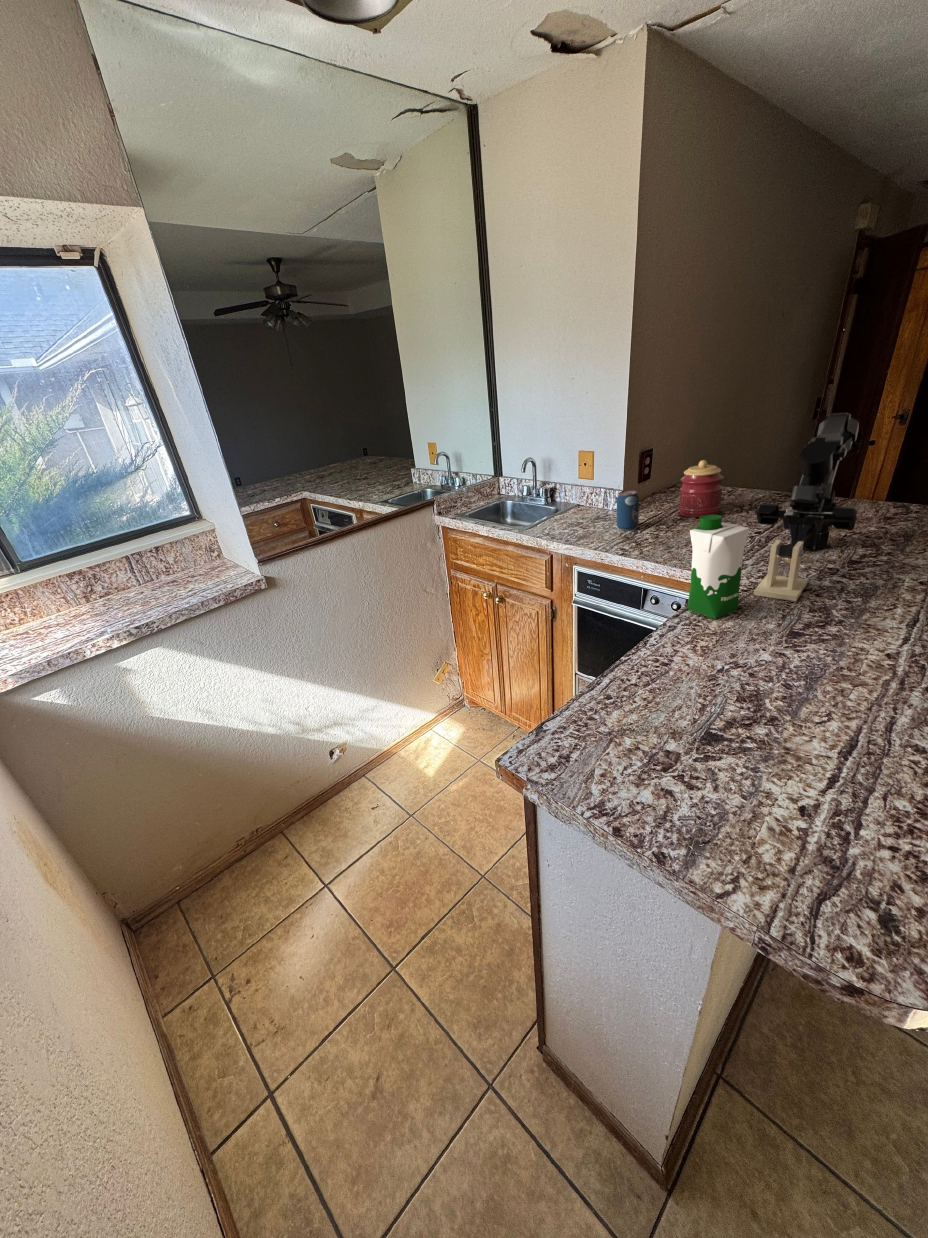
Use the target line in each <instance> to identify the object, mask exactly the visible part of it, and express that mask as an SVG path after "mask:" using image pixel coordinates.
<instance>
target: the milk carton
mask: <svg viewBox="0 0 928 1238" xmlns="http://www.w3.org/2000/svg"><path fill="white" fill-rule="evenodd" d="M749 532H750V527H749V526H742V525H738V524H736V523H729V522H723V516H722V515H719V514H716V515H703V516H701V517H699V523H698V526H697V527H694V528H693V529H690V530H689V535H690V540H691V546H692V547H691V548H692V554H691V555H692V556H691V569H690V571H691V573H690V584H689V585H690V587H689V593H688V600H687V607H686V609H687V610H689V611H692V612H695V613H698V614H701V615H703V616H705V617H709V618H711V619H714V620H717V619H720V618H721V617H724V616H727V615H728V614H730V613H732V612H735V611H736V610H739V602H740V601H739V599H740V586H741V577H742V570H743V561H744V553H745V547H746V543H747V539H748V536H749Z"/></svg>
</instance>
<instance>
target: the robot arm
mask: <svg viewBox="0 0 928 1238" xmlns="http://www.w3.org/2000/svg"><path fill="white" fill-rule="evenodd" d="M851 416H852V415H851V413H848V412H835V413H829V414H826V416H825V419H824V420H823V421H821V422H820V423H819V425H818V429H817V433H816V436H815V437H812V438H811V439H809V441H808V443H807V444H806V445H804V447H803V448H802V449H801V452H800V453H799V461H800V472H801V478H800V481H799V483H798V485H793V486H792V491H791V496H790V503H789V508H785V509H780V507H779V503H761V504H759V505H758V506H757V508H756V511H755V515H756V519H757V523H758V524H759V525H764V526H775V525H776V524H778V522H779V520H780V519H782V522H783V523H782V524H783V528H784V529H786V530H789V534H790V540H791V541H790V543H789V544H788V545H792V546H793V547H794V546H795V545H796V544H797V542H798V541H802V542H804V544H803V549H802V550H804V551H808V552H814V551H818V550H821V549H824V548H827V547H830V545H831V544H830V543H828V541H829V536H830V530H829V528H835V530H845V531H846V530H847V531H852V530H854V529H855V526H856V522H857V517H858V516H857V515H858V509H857V508H856V507H854V506H839V505H838V502H837V501H835V499H836V492H835V491H836V489H835V487H834V486H833V484H834V480H835V477H836V474H837V470H838V468H839V467H838V466H839V464H840V461H842V460H843V459H844V458H845V457H846V456H847V454H848V453H847V452H849V451H850V450H851V448H852V445H853V442H856V441H857V438H858V433H859V427H860V426H859V425H860V423H859V421H858V420H857V419H854V418H853V417H851Z"/></svg>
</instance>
